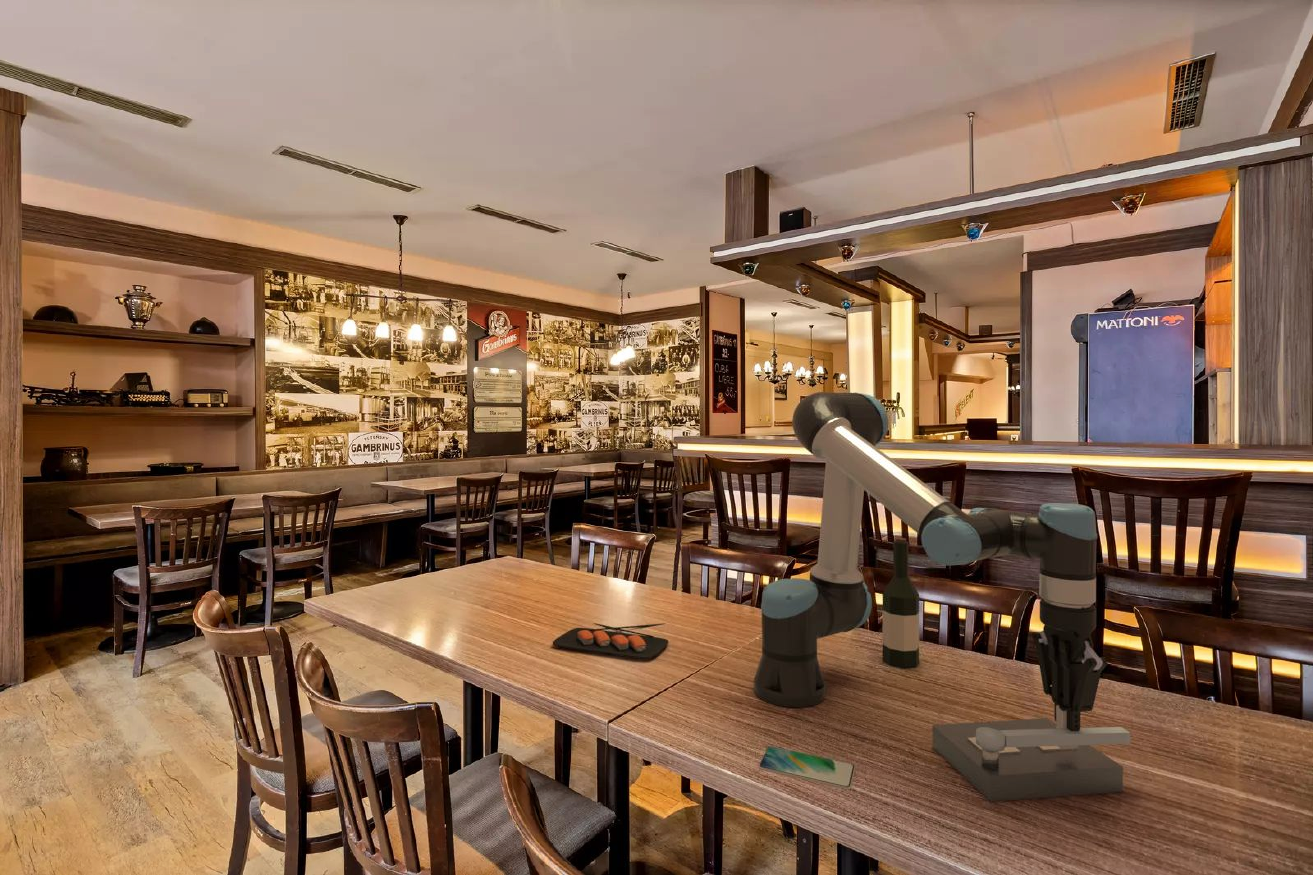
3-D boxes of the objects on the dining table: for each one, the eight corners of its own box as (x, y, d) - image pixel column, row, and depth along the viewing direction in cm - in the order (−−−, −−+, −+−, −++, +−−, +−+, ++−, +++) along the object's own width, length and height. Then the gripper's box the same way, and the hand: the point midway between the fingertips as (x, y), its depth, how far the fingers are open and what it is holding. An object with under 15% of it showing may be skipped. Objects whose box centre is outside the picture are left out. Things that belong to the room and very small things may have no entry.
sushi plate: (547, 650, 159) (547, 636, 159) (601, 617, 187) (600, 604, 187) (651, 666, 148) (651, 650, 148) (691, 628, 176) (691, 615, 176)
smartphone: (850, 788, 97) (757, 766, 103) (850, 793, 97) (757, 771, 103) (856, 763, 103) (768, 744, 110) (855, 768, 103) (768, 749, 110)
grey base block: (990, 801, 94) (990, 757, 93) (932, 747, 109) (932, 709, 109) (1122, 791, 96) (1123, 748, 96) (1047, 739, 112) (1047, 702, 112)
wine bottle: (922, 670, 144) (923, 542, 143) (885, 667, 145) (885, 541, 145) (915, 657, 152) (915, 536, 151) (879, 654, 154) (879, 535, 153)
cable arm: (985, 751, 95) (985, 740, 95) (970, 738, 99) (970, 727, 99) (1135, 747, 96) (1136, 736, 95) (1115, 734, 100) (1115, 723, 99)
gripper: (1123, 612, 92) (1123, 767, 93) (1058, 589, 105) (1058, 725, 106) (1077, 615, 91) (1077, 771, 92) (1017, 591, 104) (1017, 728, 105)
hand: (1067, 746), depth 99 cm, fingers closed
